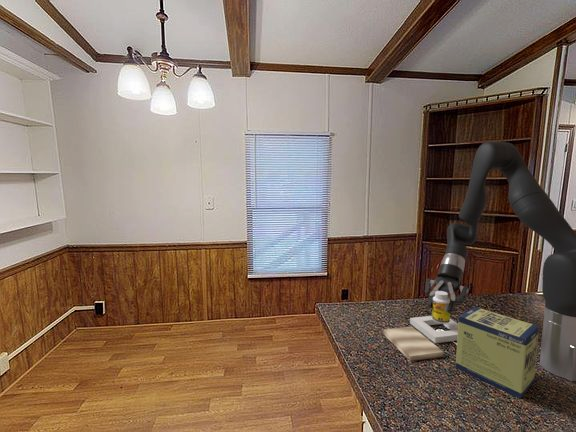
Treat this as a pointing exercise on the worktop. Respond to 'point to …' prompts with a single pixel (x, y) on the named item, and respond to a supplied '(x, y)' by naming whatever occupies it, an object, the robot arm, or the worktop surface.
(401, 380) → the worktop surface
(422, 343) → the birch board
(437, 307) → the supplement bottle
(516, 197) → the robot arm
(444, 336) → the collar stand
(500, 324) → the protein box
